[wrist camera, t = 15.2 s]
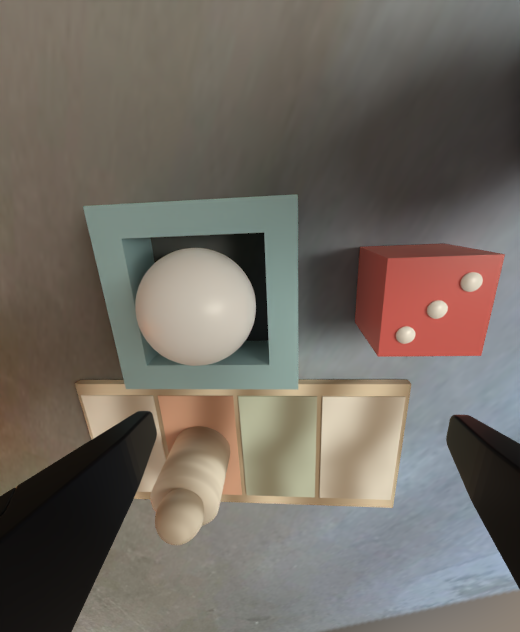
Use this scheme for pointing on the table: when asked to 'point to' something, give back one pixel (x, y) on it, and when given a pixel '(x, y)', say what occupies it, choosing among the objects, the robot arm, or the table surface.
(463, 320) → the red die
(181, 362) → the white ball
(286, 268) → the housing
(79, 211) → the table surface
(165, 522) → the pawn
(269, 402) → the game board
